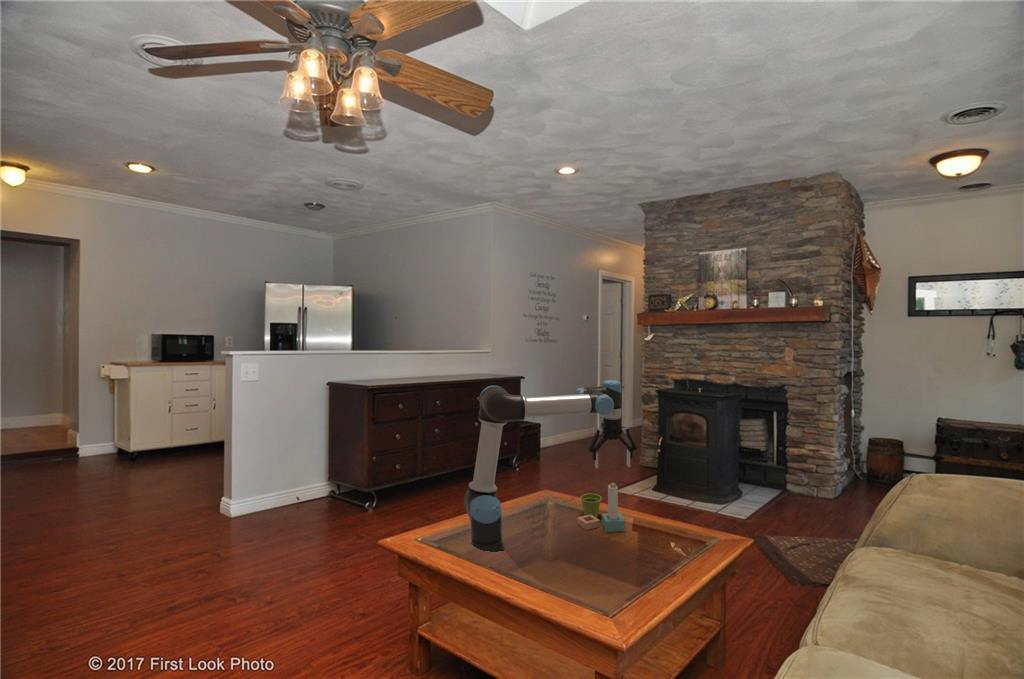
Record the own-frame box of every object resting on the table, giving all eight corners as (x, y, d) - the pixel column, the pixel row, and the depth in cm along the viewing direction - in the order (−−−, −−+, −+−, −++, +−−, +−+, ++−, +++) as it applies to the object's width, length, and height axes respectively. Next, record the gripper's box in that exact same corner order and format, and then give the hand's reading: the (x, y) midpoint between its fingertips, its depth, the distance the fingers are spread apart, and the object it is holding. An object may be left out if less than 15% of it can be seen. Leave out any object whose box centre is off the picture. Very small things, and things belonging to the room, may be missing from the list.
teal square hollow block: (605, 532, 233) (605, 521, 233) (601, 523, 241) (601, 513, 241) (624, 531, 234) (624, 520, 233) (619, 522, 242) (619, 512, 241)
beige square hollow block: (585, 530, 235) (585, 523, 235) (577, 523, 242) (577, 517, 241) (599, 527, 238) (599, 520, 238) (591, 520, 244) (591, 514, 244)
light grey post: (610, 529, 236) (609, 484, 233) (608, 525, 239) (608, 481, 237) (617, 528, 236) (617, 484, 234) (616, 525, 239) (615, 481, 237)
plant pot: (603, 520, 244) (603, 501, 243) (581, 521, 244) (581, 502, 243) (600, 511, 253) (600, 493, 252) (579, 512, 254) (579, 493, 253)
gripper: (584, 420, 228) (584, 471, 230) (644, 418, 229) (644, 468, 231) (581, 416, 235) (581, 465, 237) (639, 414, 237) (639, 462, 239)
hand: (612, 466), depth 234 cm, fingers open, 13 cm apart
